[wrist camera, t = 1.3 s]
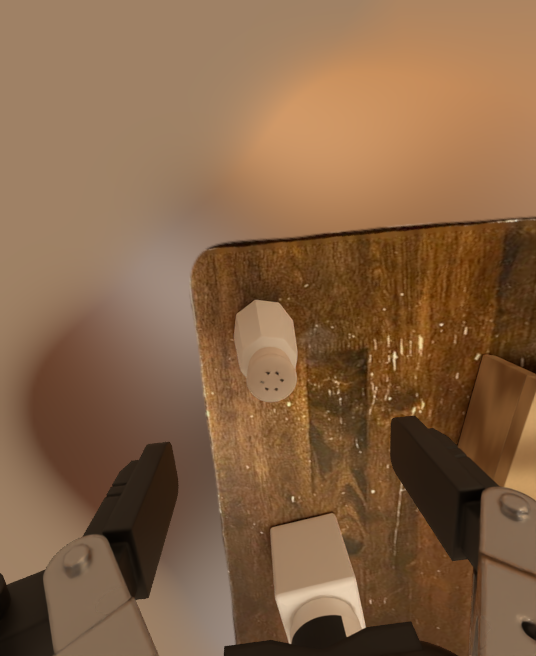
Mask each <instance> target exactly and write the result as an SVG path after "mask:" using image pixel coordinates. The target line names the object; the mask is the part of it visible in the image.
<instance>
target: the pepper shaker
mask: <svg viewBox="0 0 536 656" xmlns="http://www.w3.org/2000/svg"><path fill="white" fill-rule="evenodd" d="M234 342H235V347H236V352H237V357H238V362H239V367H240V370H241V372H242V373H243V374H244V375H245V377H246V381H247V386H248V389H249V391H250V392H251V393H252V394H253V396H255V397H256V398H258V399H259V400H262V401H265V402H276V401H280V400H282V399H285V398H286V397H287V396H289V395H290V394H291V392H292V391H293V390H294V388H295V386H296V381H297V374H296V371H295V368H296V362H297V345H296V338H295V331H294V324H293V320H292V319H291V318H290V316H289V315H288V314H287V312H286V311H285V310H284V308H283V307H282V306H281V304H280V303H278V302H270V301H262V300H254V301H253V302H251V303H250V304H249V305H248V306H246V307H245V308H244V309H242V310H241V311H240V312H238V313H237V314H236V320H235V329H234Z"/></svg>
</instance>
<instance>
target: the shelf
mask: <svg viewBox="0 0 536 656" xmlns="http://www.w3.org/2000/svg"><path fill="white" fill-rule="evenodd" d="M458 448H460V449H461V450H462V451H463V452H464V453H465V454H466V456H467V457H469V458H471V459H472V460H473V461H474V462H475V463H476V464H477V465H478V466H479V467H480V468H481V469H482V470H483V471H484V472H485V473H486V474H487V475H488V476H489V477H490V478H491V479H492V480H494V481H495V482H496V483H497V484H498V485H499V486H500V487H506V488H511V489H514V490H517V491H520V492H522V493H524V494H526V495H528V496H530V497H531V498H533V499H534V500H536V374H535V373H533V372H530V371H528V370H526V369H524V368H521V367H519V366H517V365H515V364H513V363H510V362H508V361H506V360H504V359H502V358H499V357H497V356H495V355H483V357H482V361H481V364H480V368H479V371H478V375H477V379H476V382H475V386H474V389H473V393H472V397H471V400H470V404H469V407H468V411H467V414H466V418H465V422H464V425H463V429H462V432H461V436H460V439H459V443H458Z"/></svg>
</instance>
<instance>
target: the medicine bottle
mask: <svg viewBox="0 0 536 656" xmlns="http://www.w3.org/2000/svg"><path fill="white" fill-rule="evenodd" d="M270 537H271V550H272V564H273V577H274V590H275V599H276V602H277V606H278V609H279V612H280V615H281V619H282V622H283V625H284V628H285V631H286V635H287V638H288V641H289V644H294V645H299V646H304V647H310V648H315V649H323V648H326V647H328V646H330V645H332V644H334V643H336V642H338V641H340V640H342V639H344V638H346V637H348V636H350V635H352V634H354V633H356V632H358V631H360V630H362V629H364V628H366V626H365V621H364V616H363V611H362V606H361V602H360V597H359V592H358V587H357V583H356V578H355V575H354V572H353V569H352V566H351V563H350V559H349V556H348V553H347V550H346V547H345V544H344V541H343V538H342V534H341V531H340V528H339V525H338V522H337V519H336V516H335V514H333V513H330V514H326V515H322V516H318V517H313V518H309V519H305V520H301V521H297V522H292V523H288V524H284V525H280V526H276V527H272V528H271V529H270Z"/></svg>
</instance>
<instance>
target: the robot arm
mask: <svg viewBox="0 0 536 656" xmlns="http://www.w3.org/2000/svg"><path fill="white" fill-rule="evenodd" d="M390 456H391V462H392V466H393V469H394V471H395V473H396V475H397V476H398V478H399V479H400V481H401V482H402V484H403V486H404V487H405V489H406V490H407V492H408V493H409V495H410V496H411V498H412V499H413V501H414V503H415V504H416V506H417V507H418V509H419V510H420V512H421V513H422V515H423V516H424V518H425V519H426V521H427V523H428V524H429V526H430V527H431V529H432V530H433V532H434V533H435V535H436V536H437V538H438V540H439V541H440V543H441V544H442V546H443V547H444V549H445V550H446V552H447V553H448V555H449V557H450V558H451V560H452V561H457V560H464V559H468V560H469V561H470V563H471V564H472V566H473V574H472V596H471V620H470V643H469V656H536V500H534V499H533V498H531V497H530V496H528V495H526V494H524V493H522V492H520V491H517V490H514V489H511V488H506V487H500V486H499V485H498V484H497V483H496V482H495V481H494V480H492V479H491V478H490V477H489V476H488V475H487V474H486V473H485V472H484V471H483V470H482V469H481V468H480V467H479V466H478V465H477V464H476V463H475V462H474V461H473V460H472V459H471V458H469V457H467V456H466V454H465V453H464V452H463V451H462V450H461V449H460V448H458V446H457V445H456V444H455V443H454V442H453V441H452V440H451V439H450V438H449V437H447V436H446V435H444V434H442V433H440V432H439V431H437V430H435V429H433V428H430V429H428V428H427V427H426V426H425V425H424V424H423V423H422V422H421V421H420V420H419V419H418V418H417V417H415V416H406V417H397V418H393V419H392V421H391V446H390ZM112 485H113V486H112V487H111V488H110V490H109V491H108V493H107V497H106V498H105V499H104V500H103V502H102V504H101V505H100V507H99V509H98V511H97V513H96V514H95V516H94V518H93V519H92V521H91V523H90V525H89V526H88V528H87V530H86V532H85V533H84V535H83V537H81V538H78V539H76V540H74V541H72V542H71V543H69V544H67V545H66V546H65V547H63V548H62V549H61V550H60V551H59V552H58V553H57V554H56V555H55V556H54V557H53V558H52V559H51V561H50V562H49V564H48V566H47V567H46V569H45V570H43V571H41V572H39V573H36V574H33V575H31V576H28V577H26V578H23V579H20V580H18V581H15V582H13V583H10V584H8V585H6V582H5V580H4V578H3V575H2V574H1V573H0V656H159V655H158V653H157V650H156V648H155V646H154V643H153V641H152V638H151V636H150V633H149V631H148V629H147V626H146V624H145V622H144V619H143V617H142V615H141V612H140V610H139V607H138V605H137V603H136V600H137V599H146V598H149V595H150V591H151V588H152V584H153V580H154V577H155V573H156V570H157V566H158V563H159V559H160V556H161V552H162V549H163V545H164V542H165V538H166V535H167V531H168V528H169V524H170V521H171V517H172V514H173V510H174V507H175V503H176V500H177V496H178V477H177V471H176V466H175V460H174V455H173V450H172V445H171V443H170V442H163V443H154V444H148V445H147V446H146V447H145V449H144V451H143V453H142V455H141V457H140V459H139V460H135V461H131V462H130V463H129V464H128V465H127V466H126V467H125V468H123V470H121V471H120V472H119V474H118V476H117V478H116V479H115V481H114V483H113V484H112ZM224 656H458V655H456V654H454V653H452V652H451V651H448V650H446V649H444V648H442V647H440V646H437V645H434V644H431V643H428V642H424V641H419V639H418V636H417V634H416V632H415V629H414V627H413V625H412V622H403V623H396V624H388V625H381V626H373V627H366V628H364V629H362V630H360V631H358V632H356V633H354V634H352V635H350V636H348V637H346V638H344V639H342V640H340V641H338V642H336V643H334V644H332V645H330V646H328V647H326V648H323V649H315V648H310V647H304V646H299V645H294V644H289V643H283V642H278V641H273V640H268V641H261V642H253V643H246V644H238V645H231V646H225V647H224Z"/></svg>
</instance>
